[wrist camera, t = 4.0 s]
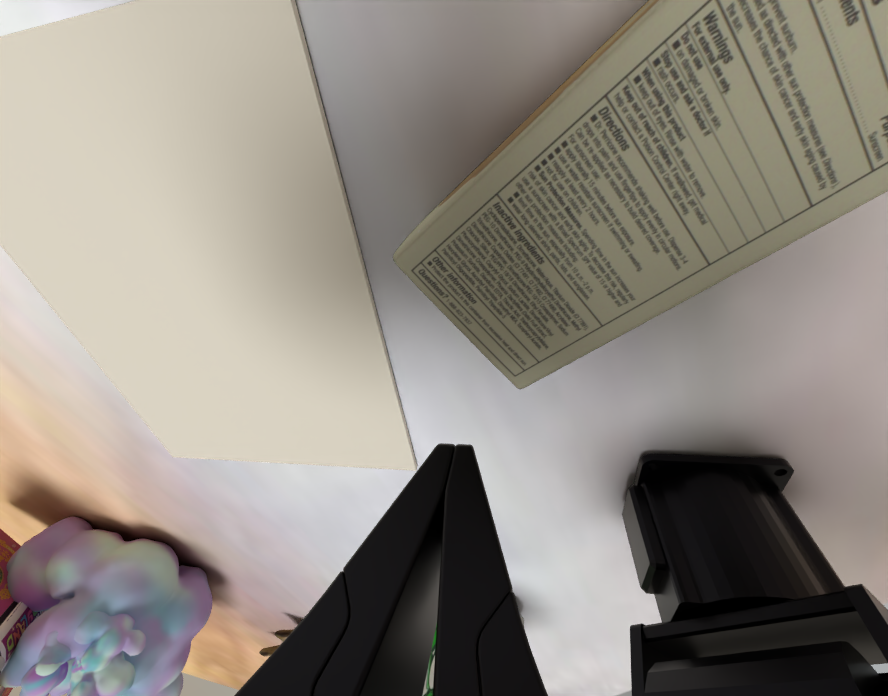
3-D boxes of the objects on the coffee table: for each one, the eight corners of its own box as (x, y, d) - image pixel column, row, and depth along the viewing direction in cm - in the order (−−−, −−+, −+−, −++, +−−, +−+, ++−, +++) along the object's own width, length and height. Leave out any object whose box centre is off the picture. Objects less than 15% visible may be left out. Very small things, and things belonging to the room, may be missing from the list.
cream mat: (285, -35, 10) (280, -39, 10) (417, 466, 22) (416, 470, 22) (-128, 74, 14) (-139, 73, 14) (175, 453, 26) (172, 457, 26)
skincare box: (516, 330, 16) (887, 104, 10) (516, 397, 12) (1090, 106, 6) (415, 212, 14) (808, -162, 8) (379, 251, 10) (1046, -377, 4)
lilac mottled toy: (230, 669, 42) (56, 924, 24) (54, 636, 43) (-236, 857, 25) (246, 500, 40) (75, 637, 23) (64, 470, 41) (-236, 579, 24)
